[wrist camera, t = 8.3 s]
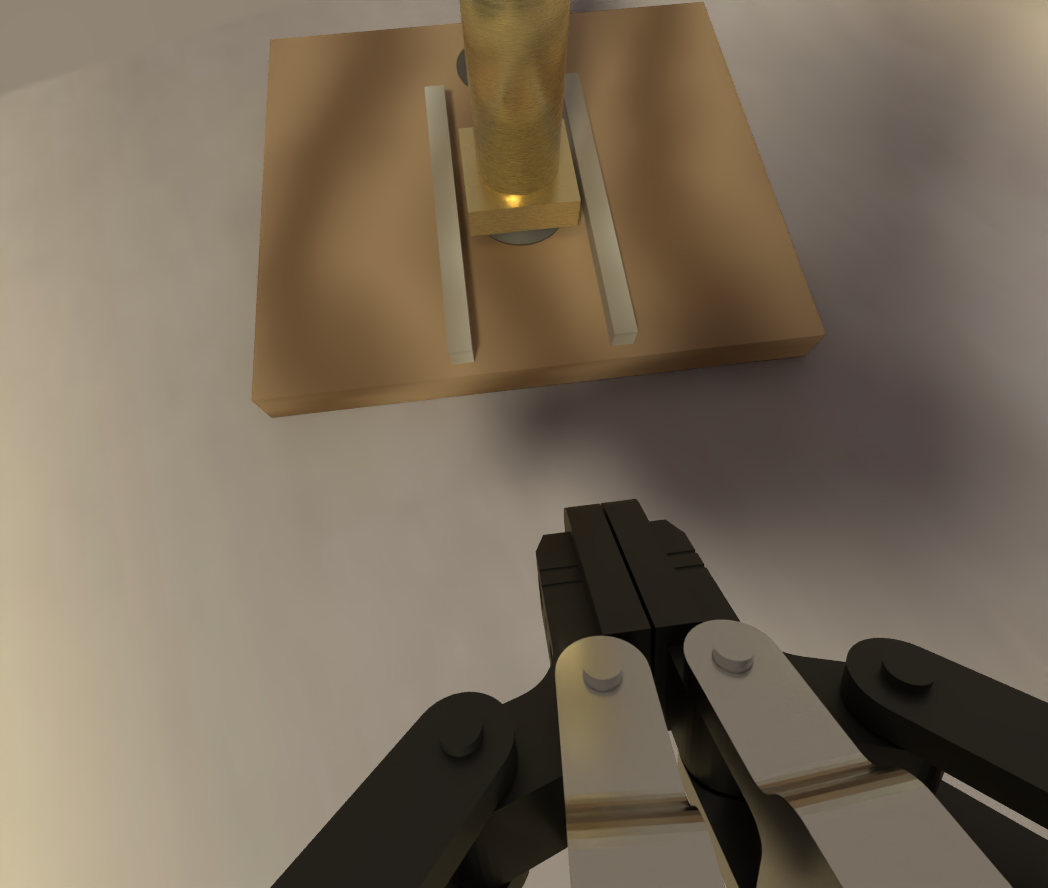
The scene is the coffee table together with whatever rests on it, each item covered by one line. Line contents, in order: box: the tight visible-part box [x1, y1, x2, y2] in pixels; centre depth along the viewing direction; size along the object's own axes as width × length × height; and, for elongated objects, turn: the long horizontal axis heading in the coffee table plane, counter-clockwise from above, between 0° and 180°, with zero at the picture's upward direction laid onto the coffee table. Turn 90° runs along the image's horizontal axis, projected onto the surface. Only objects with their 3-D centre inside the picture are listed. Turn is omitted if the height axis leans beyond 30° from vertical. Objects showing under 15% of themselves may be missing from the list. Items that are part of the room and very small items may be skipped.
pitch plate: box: [251, 2, 826, 418], centre depth 22 cm, size 20×18×2 cm
